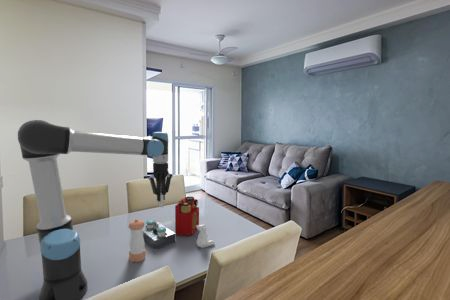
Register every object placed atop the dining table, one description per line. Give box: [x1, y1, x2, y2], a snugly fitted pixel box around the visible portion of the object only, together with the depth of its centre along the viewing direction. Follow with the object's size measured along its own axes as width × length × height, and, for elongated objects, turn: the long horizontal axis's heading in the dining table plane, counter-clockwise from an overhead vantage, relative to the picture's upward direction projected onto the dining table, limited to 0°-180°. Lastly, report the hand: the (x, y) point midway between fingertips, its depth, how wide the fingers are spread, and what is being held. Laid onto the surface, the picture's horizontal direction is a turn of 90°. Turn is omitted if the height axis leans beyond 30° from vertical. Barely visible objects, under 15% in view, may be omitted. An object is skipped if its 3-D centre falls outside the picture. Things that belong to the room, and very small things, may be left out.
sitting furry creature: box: [196, 223, 216, 249], centre depth 128 cm, size 10×9×12 cm
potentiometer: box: [153, 220, 159, 231], centre depth 133 cm, size 3×3×5 cm
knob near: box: [157, 226, 167, 237], centre depth 129 cm, size 5×5×7 cm
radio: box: [174, 195, 200, 237], centre depth 144 cm, size 16×10×20 cm, turn 168°
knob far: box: [145, 219, 156, 229], centre depth 138 cm, size 5×5×7 cm
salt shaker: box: [128, 218, 146, 263], centre depth 114 cm, size 7×7×19 cm
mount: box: [143, 221, 176, 251], centre depth 134 cm, size 12×20×5 cm, turn 44°
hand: (160, 206), depth 127 cm, fingers closed
